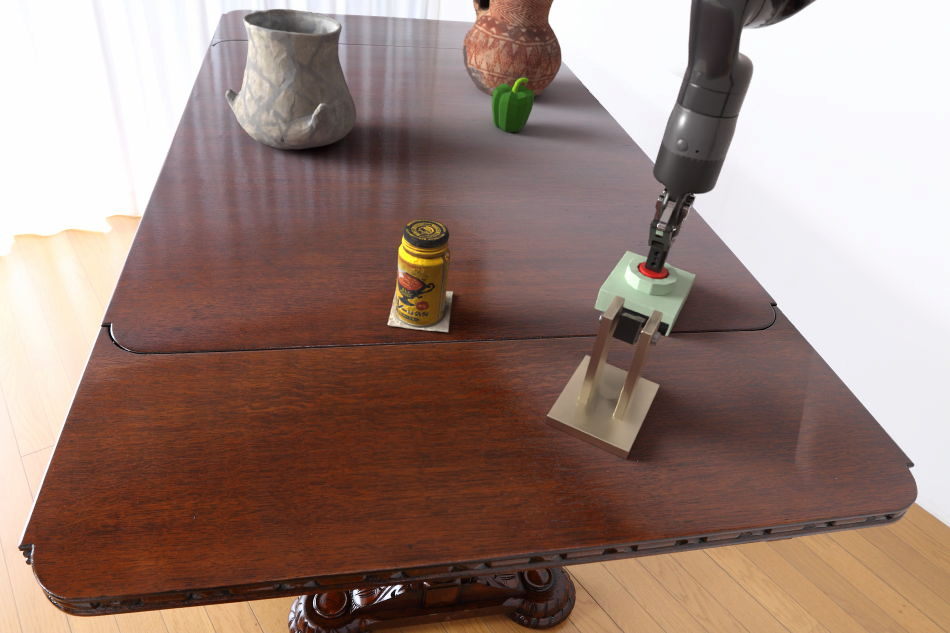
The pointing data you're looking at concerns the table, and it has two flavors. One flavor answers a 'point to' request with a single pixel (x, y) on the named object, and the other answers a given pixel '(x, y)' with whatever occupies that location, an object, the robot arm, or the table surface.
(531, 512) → the table surface
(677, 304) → the stop block
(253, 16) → the vessel
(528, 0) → the jug
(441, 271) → the condiment
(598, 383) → the bracket
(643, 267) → the stop button
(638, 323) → the lever
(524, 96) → the bell pepper
